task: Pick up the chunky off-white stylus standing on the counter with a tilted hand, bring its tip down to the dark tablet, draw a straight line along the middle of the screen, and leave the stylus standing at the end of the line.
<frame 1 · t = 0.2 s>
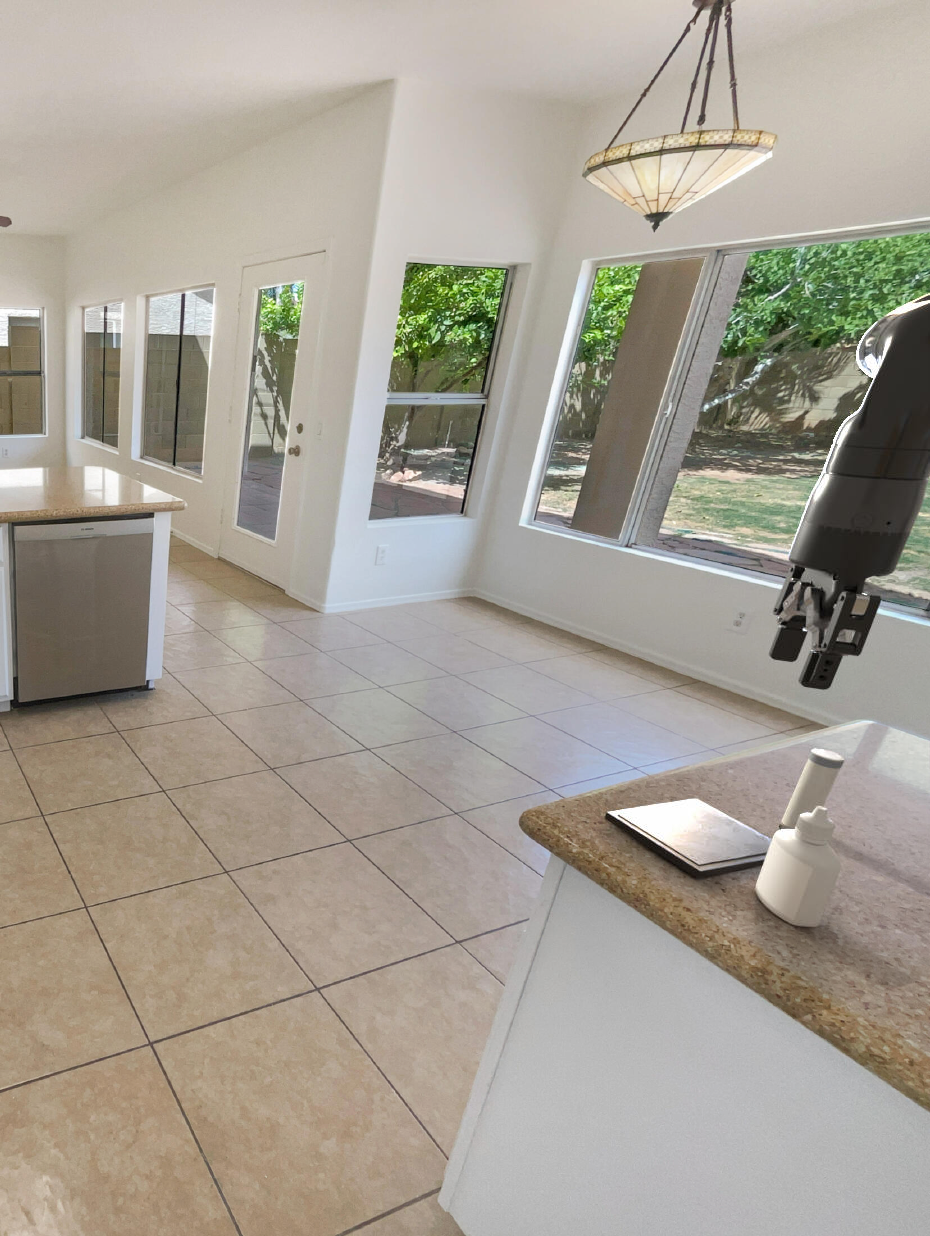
hand: (796, 672, 74), 21 cm above the counter, tool pointing down, fingers open, 8 cm apart
stylus: (792, 836, 82), on the counter
tablet: (695, 838, 81), on the counter
eye dropper bottle: (784, 910, 70), on the counter
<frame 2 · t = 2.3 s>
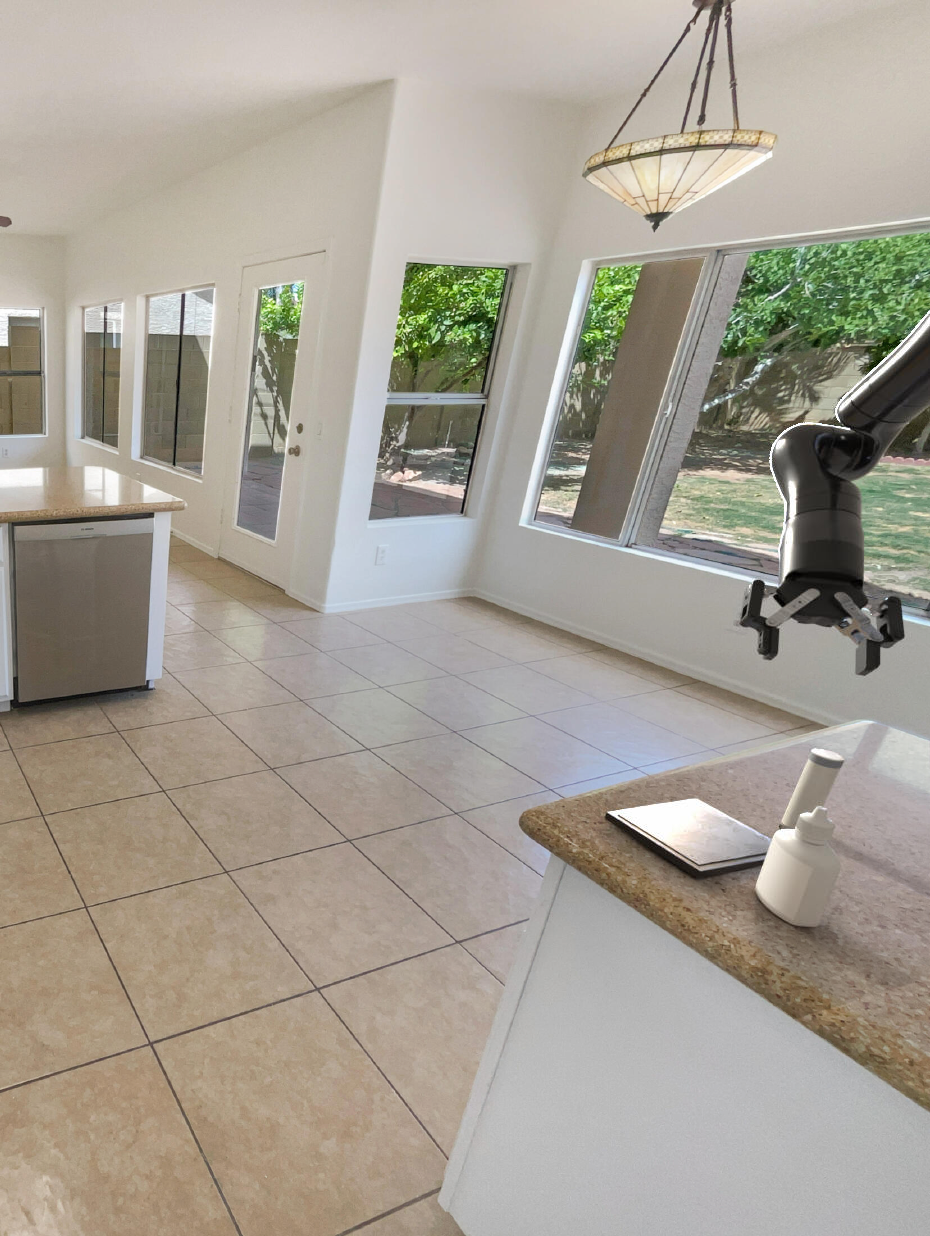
hand: (816, 665, 84), 18 cm above the counter, tool tilted 45°, fingers open, 8 cm apart
nothing on the counter moved.
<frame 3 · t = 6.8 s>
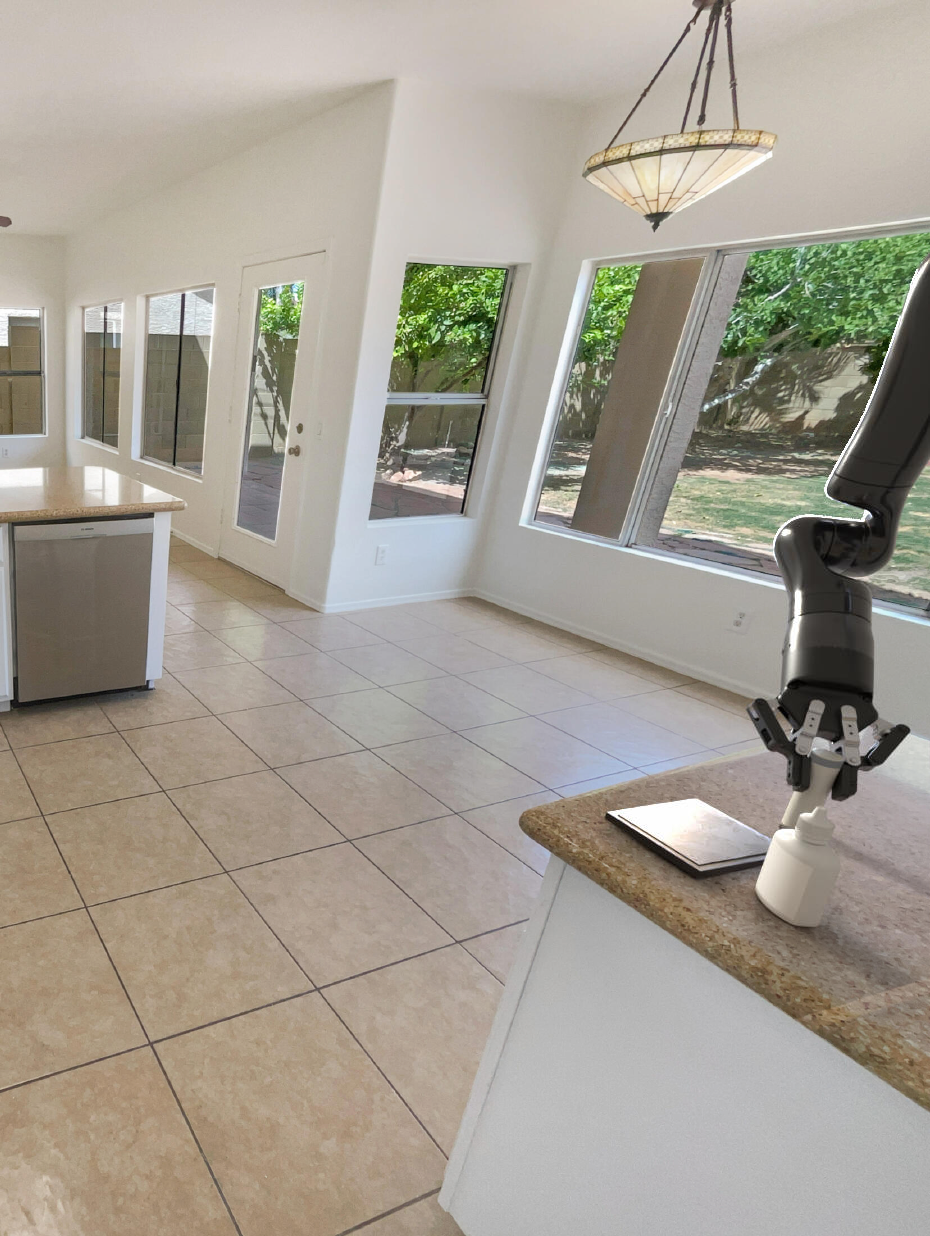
hand: (820, 793, 77), 7 cm above the counter, tool tilted 45°, fingers closed on stylus, 2 cm apart
stylus: (792, 836, 81), on the counter, touching gripper
everything else where it was.
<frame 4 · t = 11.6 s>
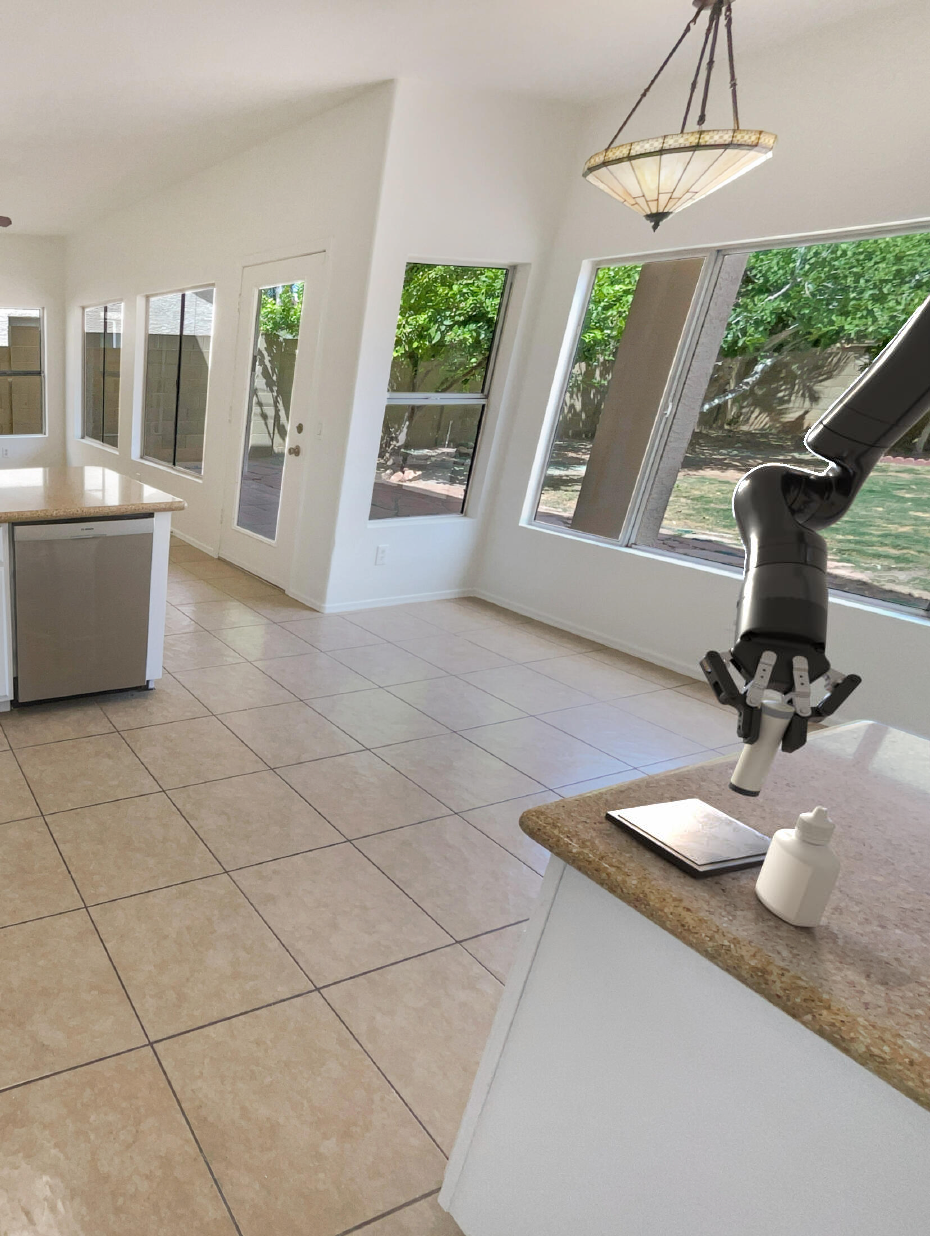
hand: (770, 745, 76), 13 cm above the counter, tool tilted 45°, fingers closed on stylus, 2 cm apart
stylus: (743, 790, 80), point 6 cm above the counter, touching gripper
everything else where it was.
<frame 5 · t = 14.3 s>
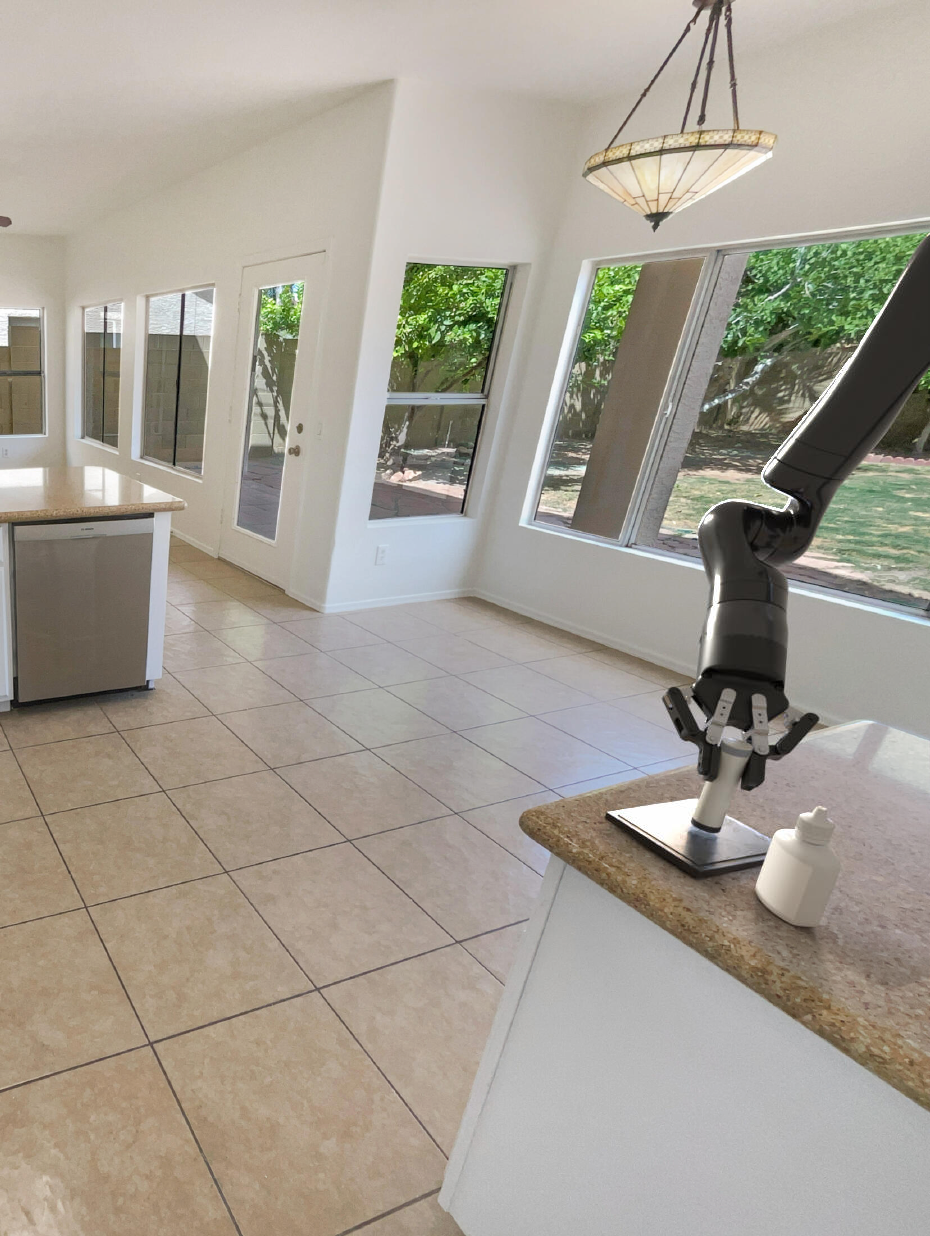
hand: (729, 783, 76), 8 cm above the counter, tool tilted 45°, fingers closed on stylus, 2 cm apart
stylus: (705, 826, 81), point 1 cm above the counter, touching gripper
everything else where it was.
when the fingers open (8 cm above the counter, at t = 16.4 s): stylus stays where it is, resting on tablet.
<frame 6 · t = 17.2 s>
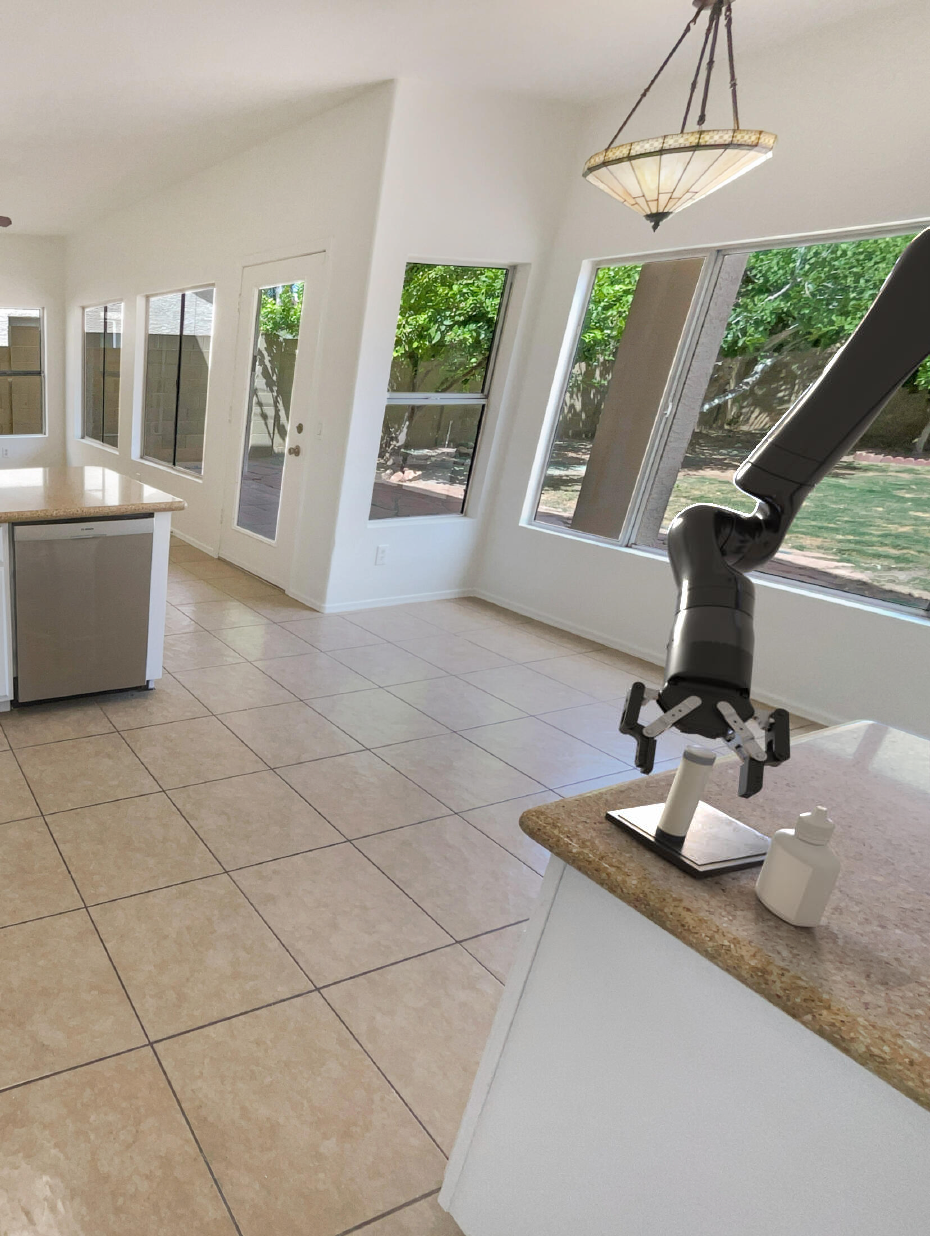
hand: (695, 783, 76), 9 cm above the counter, tool tilted 45°, fingers open, 8 cm apart
stylus: (670, 834, 80), point 1 cm above the counter, touching tablet
everything else where it was.
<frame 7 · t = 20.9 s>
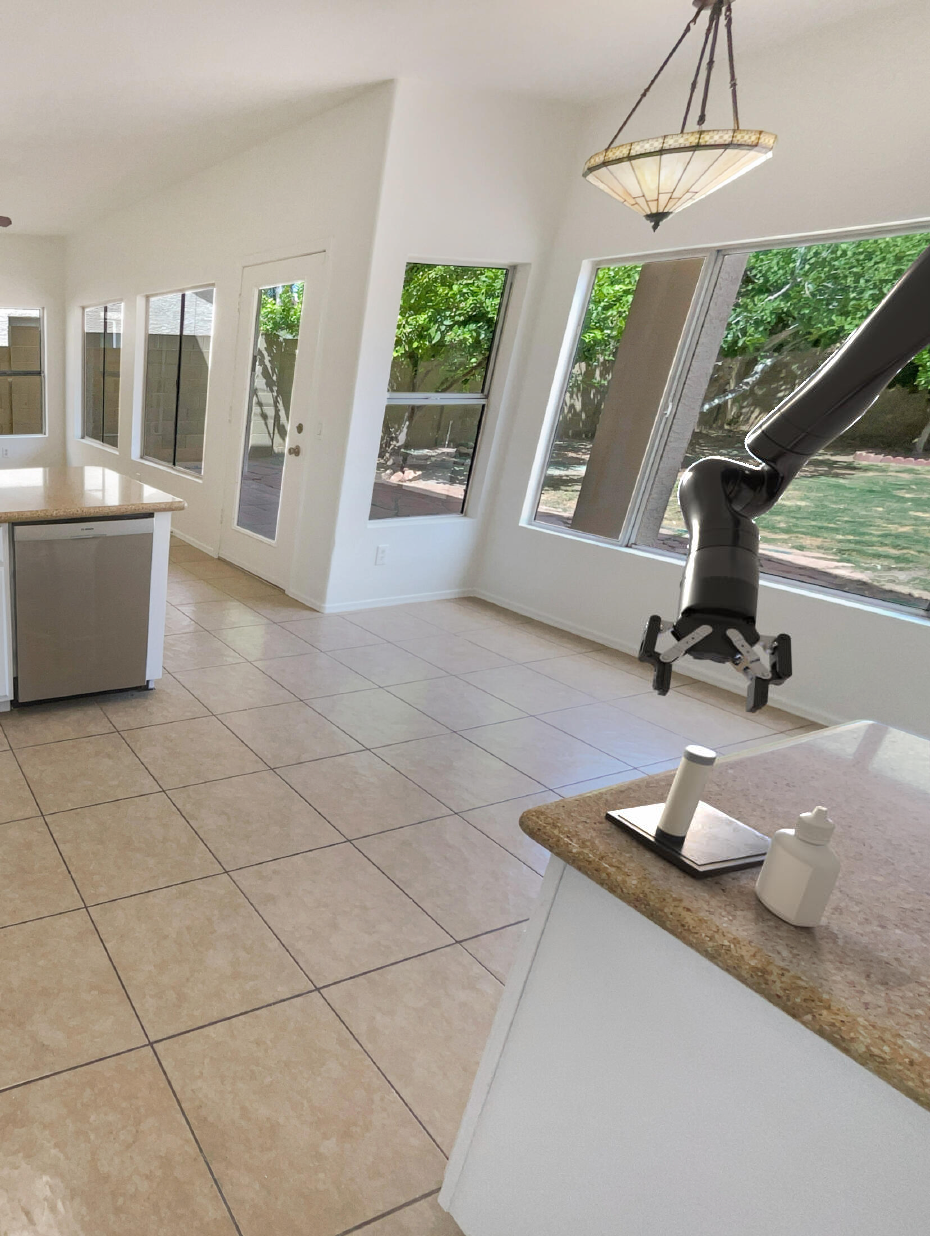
hand: (707, 701, 85), 13 cm above the counter, tool tilted 45°, fingers open, 8 cm apart
nothing on the counter moved.
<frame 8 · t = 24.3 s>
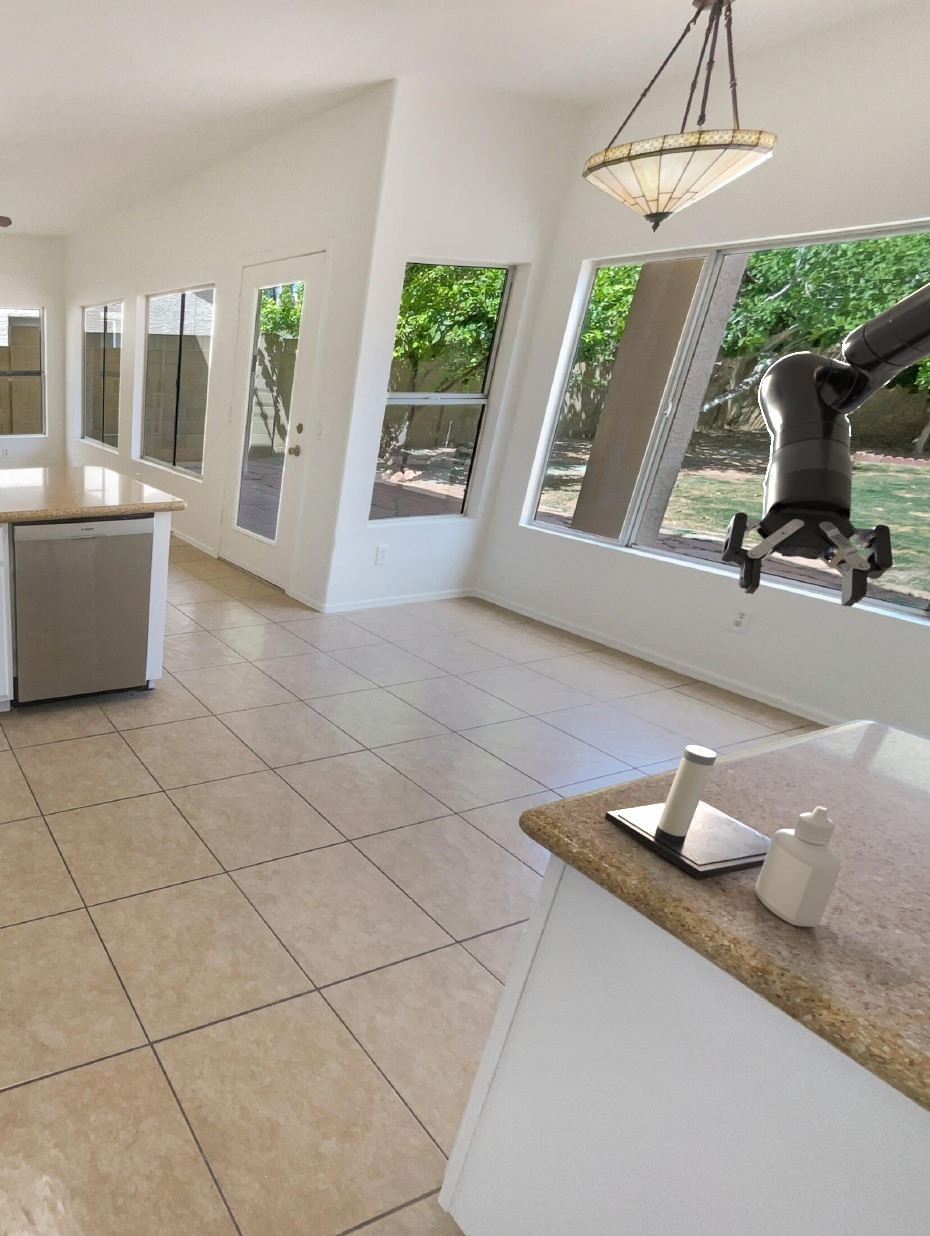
hand: (800, 596, 81), 27 cm above the counter, tool tilted 45°, fingers open, 8 cm apart
nothing on the counter moved.
at the end: stylus inside the target area (0.5 cm from its centre), point 1.1 cm above the counter; stylus moved 16.2 cm from its start; the gripper is holding nothing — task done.
